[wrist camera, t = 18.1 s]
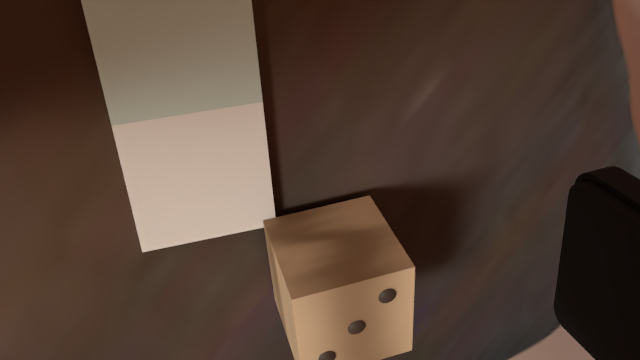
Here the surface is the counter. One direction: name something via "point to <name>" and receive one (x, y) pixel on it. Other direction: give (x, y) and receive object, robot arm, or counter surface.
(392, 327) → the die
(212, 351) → the counter surface
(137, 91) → the track
